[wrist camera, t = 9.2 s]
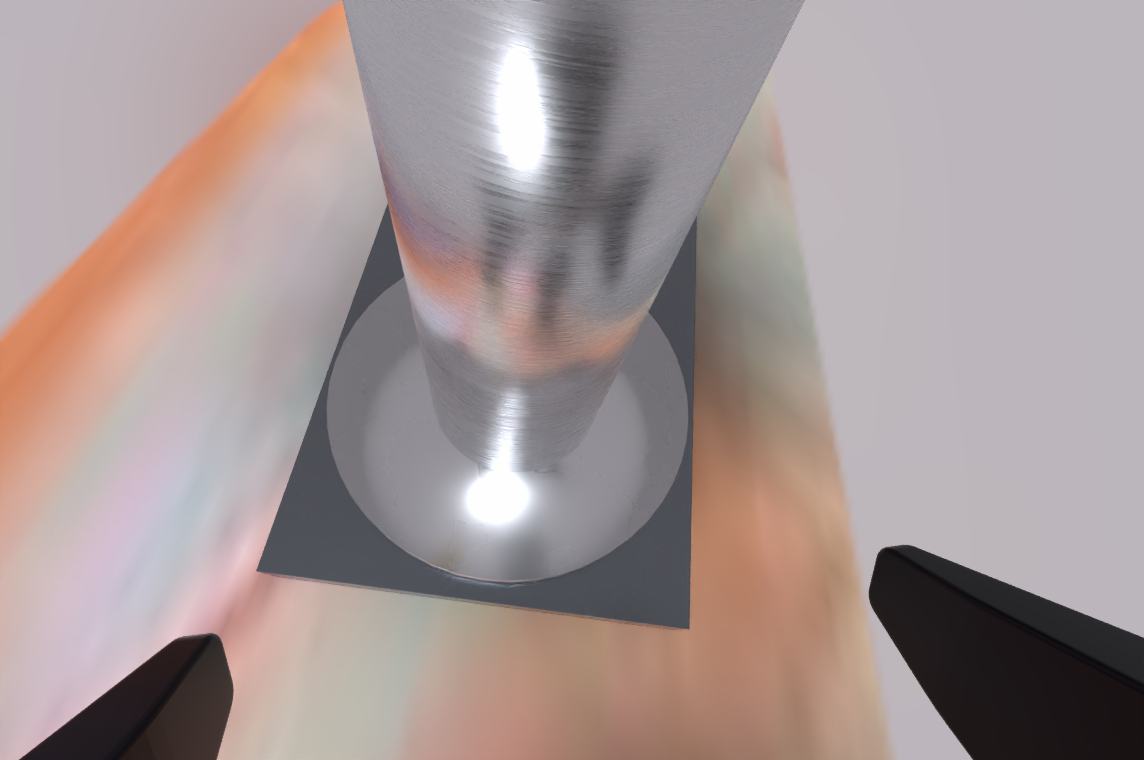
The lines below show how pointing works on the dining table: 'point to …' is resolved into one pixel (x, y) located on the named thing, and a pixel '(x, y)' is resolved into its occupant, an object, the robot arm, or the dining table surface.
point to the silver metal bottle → (547, 187)
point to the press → (495, 476)
